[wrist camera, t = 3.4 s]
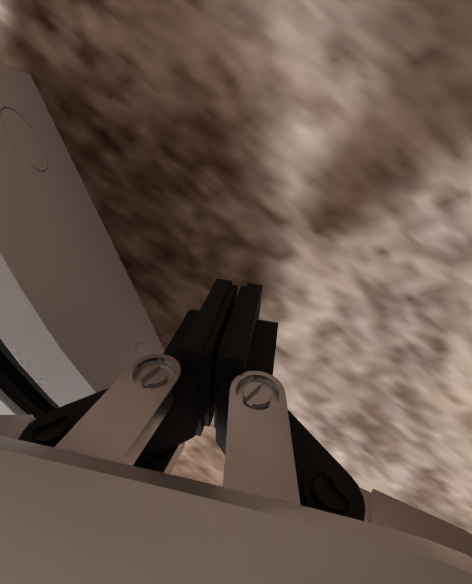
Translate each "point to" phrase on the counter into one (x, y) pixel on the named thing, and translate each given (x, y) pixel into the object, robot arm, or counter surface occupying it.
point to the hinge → (56, 270)
